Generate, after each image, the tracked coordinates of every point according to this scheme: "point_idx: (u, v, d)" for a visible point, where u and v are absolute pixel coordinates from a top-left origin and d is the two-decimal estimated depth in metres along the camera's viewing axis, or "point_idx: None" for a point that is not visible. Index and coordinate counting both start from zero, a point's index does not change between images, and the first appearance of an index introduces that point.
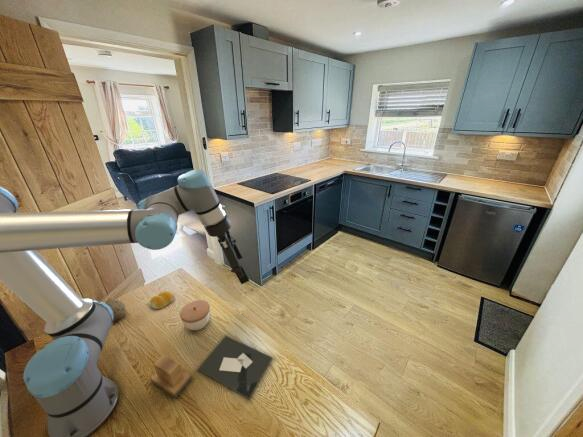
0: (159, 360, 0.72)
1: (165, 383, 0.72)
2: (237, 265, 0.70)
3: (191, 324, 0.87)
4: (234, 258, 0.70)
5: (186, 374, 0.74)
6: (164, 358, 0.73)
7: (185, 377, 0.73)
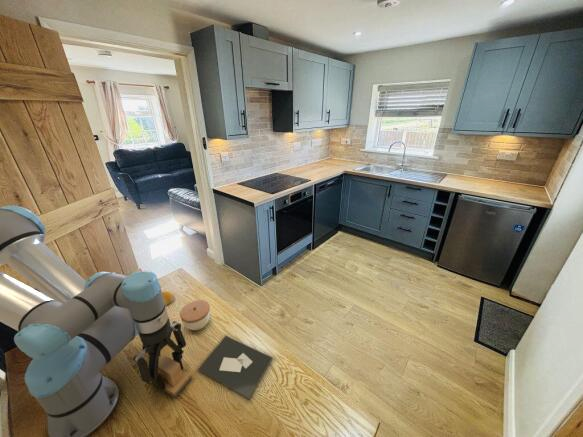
0: (159, 360, 0.72)
1: (165, 383, 0.72)
2: (145, 379, 0.64)
3: (191, 324, 0.87)
4: (144, 374, 0.63)
5: (186, 374, 0.74)
6: (164, 358, 0.73)
7: (185, 377, 0.73)
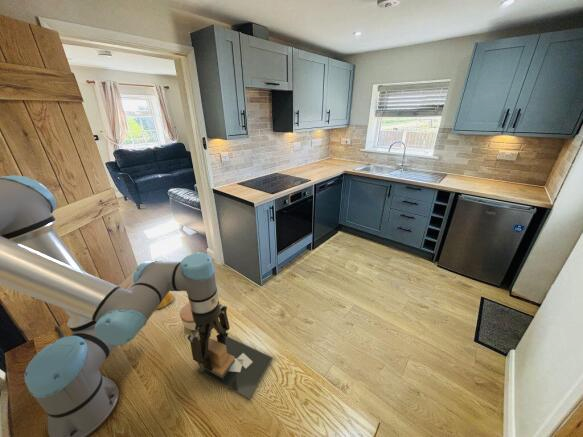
0: None
1: (212, 365, 0.74)
2: (197, 359, 0.66)
3: (191, 324, 0.87)
4: (196, 353, 0.66)
5: (231, 356, 0.76)
6: (210, 340, 0.75)
7: (230, 359, 0.75)
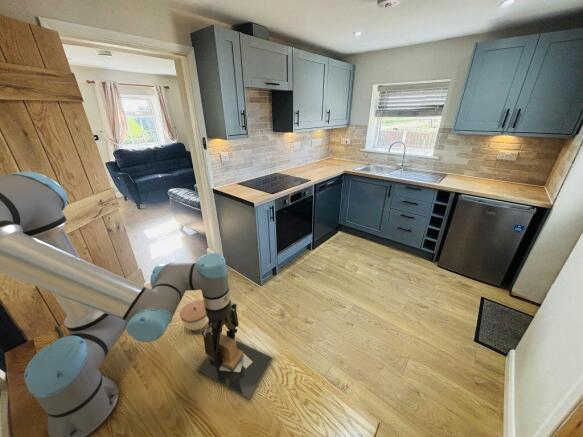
0: None
1: (222, 359, 0.78)
2: (209, 353, 0.71)
3: (191, 324, 0.87)
4: (209, 347, 0.70)
5: (240, 351, 0.80)
6: (221, 336, 0.79)
7: (239, 353, 0.80)
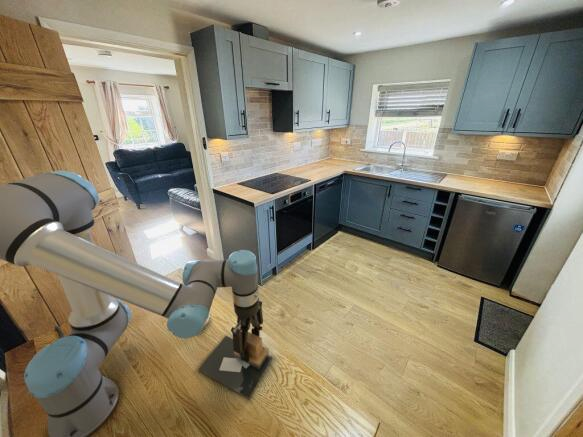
0: None
1: None
2: (238, 350, 0.71)
3: None
4: (238, 345, 0.70)
5: (265, 348, 0.80)
6: None
7: (265, 351, 0.79)
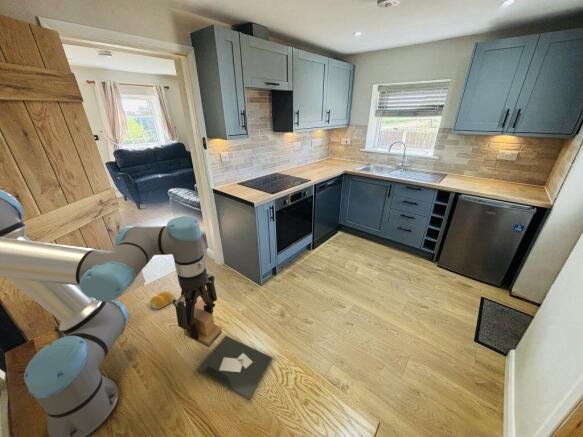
0: None
1: (198, 334, 0.73)
2: (182, 325, 0.66)
3: None
4: (181, 319, 0.65)
5: (217, 327, 0.76)
6: (197, 310, 0.74)
7: (217, 329, 0.75)
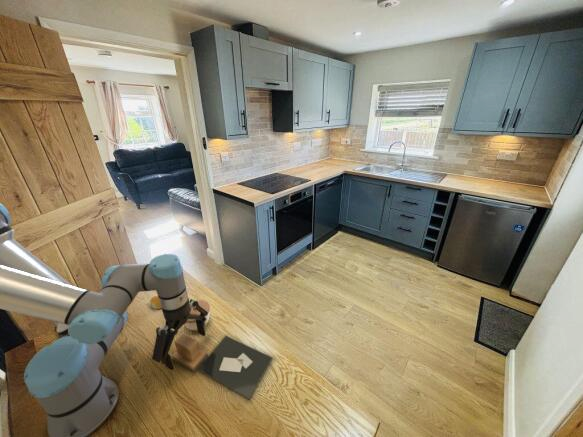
0: (179, 338, 0.79)
1: (185, 359, 0.78)
2: (157, 357, 0.68)
3: (191, 324, 0.87)
4: (159, 349, 0.68)
5: (203, 352, 0.81)
6: (183, 336, 0.79)
7: (202, 354, 0.80)
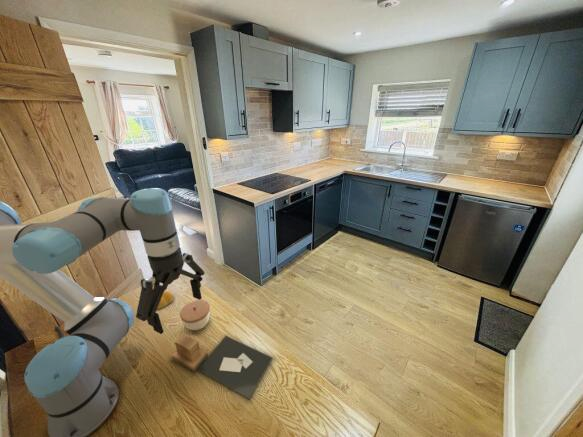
0: (179, 338, 0.79)
1: (185, 359, 0.78)
2: (142, 314, 0.56)
3: (191, 324, 0.87)
4: (144, 304, 0.56)
5: (203, 352, 0.81)
6: (183, 336, 0.79)
7: (202, 354, 0.80)
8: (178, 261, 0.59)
